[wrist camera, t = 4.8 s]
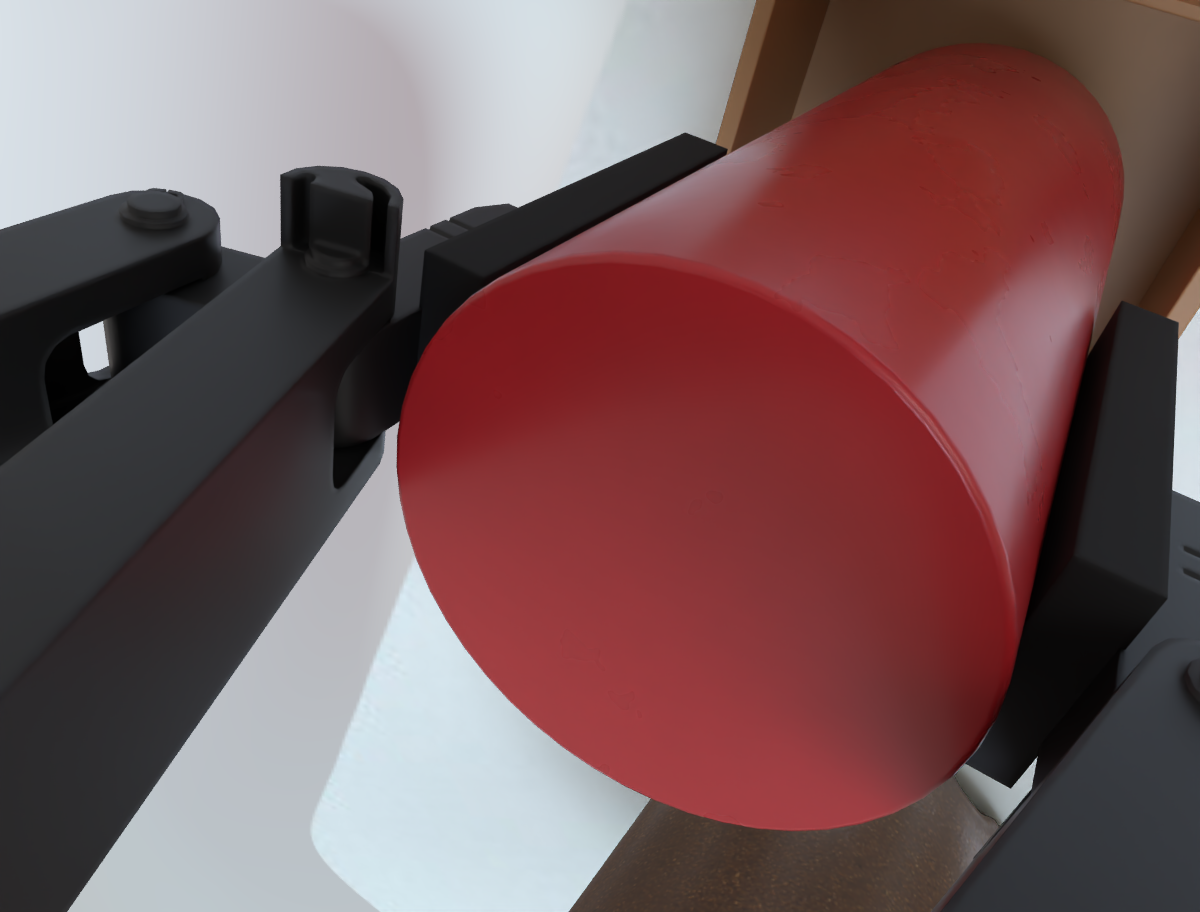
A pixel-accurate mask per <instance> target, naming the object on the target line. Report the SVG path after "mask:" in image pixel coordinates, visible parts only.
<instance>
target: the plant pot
mask: <svg viewBox="0 0 1200 912" xmlns="http://www.w3.org/2000/svg"><path fill="white" fill-rule="evenodd" d="M998 828H999V826H998V824H997V823H996V821H995V820H994V819H992V818H991V817H989V816H984V815H982V814H981V813H980V812H979V811H978V810H977V809H976V807H975V806H974V805H973V804H972V803H971V801H970V800H969V799H968V797H967V796H966V794H965V793H964V791H963V790H962V788H961V787H960V785H959V784H958V782H957V780H956V778H955V776H952V777H951V778H950V779H948V780H947V781H946V782H944V783H943V784H942V785H940V786H939V787H938V788H936V789H935V790H934V791H932V792H931V793H930V794H928V795H927V796H926V797H924V798H923V799H921V800H919V801H917V802H915V803H913V804H911V805H909V806H907V807H905V808H903V809H901V810H899V811H897V812H895V813H893V814H890V815H887V816H884V817H881V818H878V819H875V820H872V821H868V822H865V823H862V824H858V825H852V826H846V827H840V828H834V829H828V830H809V831H783V830H769V829H757V828H751V827H745V826H740V825H734V824H728V823H723V822H719V821H716V820H712V819H708V818H705V817H701V816H698V815H694V814H690V813H687V812H685V811H682V810H679V809H677V808H674V807H671V806H669V805H666V804H663V803H661V802H658V801H655V800H653V799H650V801H649V802H648V804H647V805H646V806H645V808H644V809H643V810H642V812H641V813H640V815H639V816H638V817H637V819H636V820H635V822H634V823H633V824H632V826H631V827H630V828H629V830H628V831H627V833H626V834H625V835H624V837H623V838H622V839H621V841H620V842H619V844H618V845H617V846H616V848H615V849H614V850H613V852H612V853H611V855H610V856H609V857H608V859H607V860H606V862H605V863H604V864H603V866H602V867H601V868H600V870H599V871H598V873H597V874H596V875H595V877H594V878H593V879H592V881H591V882H590V884H589V885H588V886H587V888H586V889H585V890H584V892H583V893H582V895H581V896H580V897H579V899H578V900H577V901H576V903H575V904H574V905H573V907H572V908H571V909H570V911H569V912H931V911H932V910H933V909H934V907H935V906H936V905H937V904H938V903H939V901H940V900H941V899H942V898H943V896H944V895H945V894H946V893H947V891H948V890H949V889H950V888H951V887H952V885H953V884H954V883H955V882H956V880H957V879H958V878H959V877H960V875H961V874H962V873H963V872H964V871H965V869H966V868H967V867H968V866H969V864H970V863H971V862H972V861H973V857H974V856H975V855H976V854H977V853H978V852H979V850H980V849H981V848H982V847H983V846H984V845H985V843H986V842H987V841H988V840H989V839H990V837H991V836H992V835H993V834H994V833H995V832H996V830H997V829H998Z"/></svg>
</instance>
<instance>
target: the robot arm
mask: <svg viewBox="0 0 1200 912" xmlns="http://www.w3.org/2000/svg"><path fill="white" fill-rule="evenodd" d="M727 151H728V149H727V148H724V147H722V146H719V145H716V144H714V143H711V142H709V141H706V140H703V139H701V138H698V137H696V136H693V135H690V134H688V133H683V134H681V135H679V136H677V137H674V138H672V139H670V140H668V141H665V142H663V143H661V144H659V145H657V146H654V147H652V148H650V149H648V150H645V151H643V152H641V153H639V154H637V155H634V156H632V157H630V158H628V159H625V160H623V161H621V162H619V163H617V164H614V165H612V166H610V167H608V168H606V169H603V170H601V171H599V172H597V173H594V174H592V175H590V176H588V177H586V178H583V179H581V180H579V181H577V182H574V183H572V184H570V185H568V186H566V187H563V188H561V189H559V190H557V191H554V192H552V193H550V194H548V195H546V196H543V197H541V198H539V199H537V200H534V201H532V202H530V203H528V204H526V205H523V206H521V207H519V208H517V207H515V206H512V205H510V204H501V205H492V206H483V207H475V208H473V209H470V210H468V211H465V212H463V213H461V214H458V215H456V216H453V217H451V218H450V220H449V221H447V220H444V221H442V222H439V223H437V224H434V225H432V226H431V227H430V229H426V228H425V229H423V230H421V231H418V232H416V233H413V234H411V235H408V236H406V237H404V238H402V239H400V235H401V223H402V209H403V197H402V195H401V193H400V191H399V189H398V188H396V187H395V186H394V185H392V184H391V183H389V182H388V181H386V180H385V179H383V178H380V177H377V176H375V175H372V174H369V173H367V172H363V171H358V170H353V169H348V168H344V167H329V166H328V167H327V166H314V167H305V168H296V169H294V170H291V171H289V172H286V173H284V174H281V175H280V181H281V182H280V187H281V246H280V247H279V248H278V249H276V250H275V251H274V252H273V253H272V254H270V255H269V256H268V257H266V258H263V257H259V256H255V255H251V254H248V253H244V252H240V251H236V250H233V249H229V248H225V247H221V235H220V218H219V216H218V214H217V212H216V210H215V209H214V208H213V207H212V206H210V205H208V204H207V203H205V202H203V201H202V200H200V199H197V198H194V197H190V196H187V195H184V194H183V193H181V192H177V191H172V190H169V191H168V192H166V189H157V188H152V189H148V190H147V191H129V192H124V193H119V194H114V195H109V196H106V197H103V198H100V199H97V200H93V201H91V202H88V203H84V204H81V205H78V206H74V207H71V208H68V209H65V210H62V211H58V212H55V213H52V214H49V215H46V216H42V217H39V218H36V219H33V220H29V221H26V222H23V223H20V224H17V225H13V226H10V227H7V228H4V229H1V230H0V912H67V911H68V910H69V908H70V907H71V905H72V904H73V902H74V901H75V900H76V898H77V897H78V895H79V894H80V892H81V891H82V890H83V888H84V887H85V885H86V883H87V882H88V881H89V880H90V878H91V877H92V875H93V874H94V872H95V871H96V869H97V868H98V867H99V865H100V864H101V862H102V861H103V859H104V858H105V856H106V855H107V854H108V852H109V851H110V849H111V848H112V846H113V845H114V844H115V842H116V841H117V839H118V838H119V836H120V835H121V834H122V832H123V831H124V829H125V828H126V827H127V825H128V824H129V822H130V821H131V819H132V818H133V816H134V815H135V814H136V812H137V811H138V809H139V808H140V806H141V805H142V804H143V802H144V801H145V799H146V798H147V796H148V795H149V794H150V792H151V791H152V789H153V787H154V786H155V785H156V783H157V782H158V781H159V779H160V778H161V776H162V775H163V774H164V772H165V771H166V769H167V768H168V766H169V765H170V763H171V762H172V760H173V759H174V758H175V756H176V755H177V753H178V752H179V751H180V749H181V748H182V746H183V745H184V743H185V742H186V740H187V739H188V738H189V736H190V735H191V733H192V732H193V730H194V729H195V728H196V726H197V725H198V723H199V722H200V720H201V719H202V718H203V716H204V715H205V713H206V712H207V710H208V709H209V708H210V706H211V705H212V703H213V702H214V700H215V699H216V697H217V696H218V695H219V693H220V692H221V690H222V689H223V688H224V686H225V685H226V683H227V682H228V680H229V679H230V677H231V676H232V675H233V673H234V671H235V670H236V669H237V667H238V666H239V665H240V663H241V662H242V660H243V658H244V657H245V656H246V655H247V653H248V652H249V650H250V649H251V647H252V646H253V644H254V643H255V642H256V640H257V639H258V637H259V636H260V634H261V633H262V632H263V630H264V629H265V627H266V626H267V624H268V623H269V622H270V620H271V619H272V617H273V616H274V614H275V613H276V611H277V610H278V609H279V607H280V606H281V604H282V603H283V601H284V600H285V599H286V597H287V596H288V594H289V593H290V591H291V590H292V589H293V587H294V586H295V584H296V583H297V581H298V580H299V579H300V577H301V576H302V574H303V573H304V571H305V570H306V569H307V567H308V566H309V564H310V563H311V561H312V560H313V559H314V557H315V556H316V554H317V553H318V551H319V550H320V548H321V547H322V546H323V544H324V543H325V541H326V540H327V538H328V537H329V536H330V534H331V533H332V531H333V530H334V528H335V527H336V526H337V524H338V523H339V521H340V520H341V518H342V517H343V516H344V514H345V513H346V511H347V510H348V508H349V507H350V505H351V504H352V503H353V501H354V500H355V498H356V496H357V495H358V494H359V493H360V491H361V490H362V488H363V487H364V485H365V484H366V483H367V481H368V480H369V478H370V477H371V475H372V474H373V472H374V471H375V470H376V468H377V467H378V465H379V464H380V461H381V458H382V455H383V452H384V441H385V430H387V429H388V428H390V427H392V426H393V425H395V424H396V423H398V422H399V421H400V416H401V410H402V404H403V401H404V398H405V395H406V392H407V389H408V385H409V382H410V379H411V376H412V374H413V372H414V370H415V368H416V366H417V364H418V362H419V360H420V358H421V356H422V354H423V352H424V350H425V348H426V346H427V344H428V343H429V342H430V340H431V339H432V338H433V336H434V335H435V334H436V332H437V331H438V330H439V328H440V327H441V325H442V324H443V323H444V321H445V320H446V319H447V318H448V317H449V316H450V315H451V314H452V313H453V312H454V311H455V310H456V309H457V308H458V307H460V306H461V305H462V304H463V303H464V302H465V301H466V300H467V299H468V298H469V297H470V296H471V295H473V294H475V293H476V292H478V291H479V290H481V289H482V288H484V287H485V286H487V285H488V284H490V283H491V282H493V281H494V280H496V279H498V278H499V277H501V276H503V275H505V274H506V273H508V272H510V271H512V270H514V269H516V268H518V267H519V266H521V265H523V264H525V263H527V262H529V261H531V260H532V259H534V258H536V257H538V256H540V255H542V254H544V253H545V252H547V251H549V250H551V249H553V248H555V247H557V246H558V245H560V244H562V243H564V242H566V241H568V240H570V239H571V238H573V237H575V236H577V235H579V234H581V233H583V232H584V231H586V230H588V229H590V228H592V227H594V226H596V225H597V224H599V223H601V222H603V221H605V220H607V219H609V218H611V217H612V216H614V215H616V214H618V213H620V212H622V211H624V210H625V209H627V208H629V207H631V206H633V205H635V204H637V203H638V202H640V201H642V200H644V199H646V198H648V197H650V196H651V195H653V194H655V193H657V192H659V191H661V190H663V189H664V188H666V187H668V186H670V185H672V184H674V183H676V182H677V181H679V180H681V179H683V178H685V177H687V176H689V175H690V174H692V173H694V172H696V171H698V170H700V169H702V168H703V167H705V166H707V165H709V164H711V163H713V162H715V161H716V160H718V159H720V158H722V157H724V156H726V155H727ZM101 321H103V324H104V331H105V338H106V345H107V352H108V360H109V366H107V367H105V368H103V369H101V370H99V371H95V372H90V373H87V371H86V369H85V367H84V364H83V358H82V351H81V345H80V339H79V332H78V331H81V330H83V329H85V328H88V327H90V326H92V325H94V324H97V323H99V322H101ZM1178 331H1179V322H1177V321H1174V320H1171V319H1169V318H1166V317H1164V316H1161V315H1158V314H1156V313H1153V312H1151V311H1148V310H1145V309H1143V308H1140V307H1138V306H1135V305H1132V304H1130V303H1127V302H1125V301H1121V302H1120V304H1119V306H1118V307H1117V309H1116V310H1115V312H1114V314H1113V315H1112V317H1111V319H1110V320H1109V322H1108V324H1107V325H1106V327H1105V328H1104V330H1103V332H1102V333H1101V335H1100V337H1099V338H1098V340H1097V342H1096V343H1095V345H1094V346H1093V348H1092V350H1091V351H1090V353H1089V355H1088V357H1087V361H1086V365H1085V369H1084V374H1083V378H1082V382H1081V386H1080V390H1079V395H1078V399H1077V403H1076V407H1075V412H1074V416H1073V420H1072V424H1071V428H1070V433H1069V437H1068V441H1067V445H1066V450H1065V454H1064V458H1063V462H1062V466H1061V471H1060V475H1059V479H1058V483H1057V487H1056V492H1055V496H1054V500H1053V504H1052V509H1051V513H1050V517H1049V521H1048V525H1047V530H1046V534H1045V538H1044V542H1043V547H1042V551H1041V555H1040V559H1039V563H1038V568H1037V572H1036V576H1035V580H1034V585H1033V589H1032V593H1031V597H1030V601H1029V606H1028V610H1027V614H1026V618H1025V622H1024V627H1023V631H1022V635H1021V639H1020V644H1019V648H1018V652H1017V656H1016V660H1015V665H1014V669H1013V673H1012V677H1011V682H1010V685H1009V687H1008V690H1007V693H1006V695H1005V698H1004V701H1003V704H1002V706H1001V709H1000V712H999V714H998V717H997V719H996V721H995V722H994V724H993V726H992V727H991V729H990V731H989V732H988V734H987V735H986V737H985V739H984V740H983V742H982V744H981V745H980V747H979V749H978V750H977V751H976V752H975V753H974V754H973V755H972V756H971V757H970V758H969V760H968V761H967V762H966V763H965V764H967V765H969V766H971V767H973V768H974V769H976V770H978V771H980V772H982V773H983V774H985V775H987V776H989V777H991V778H992V779H994V780H996V781H998V782H1000V783H1002V784H1003V785H1005V786H1007V787H1009V788H1012V787H1013V785H1014V784H1015V783H1016V782H1017V781H1018V779H1019V778H1020V777H1021V776H1022V775H1023V773H1024V772H1025V771H1026V770H1027V768H1028V767H1029V766H1030V765H1031V764H1032V762H1033V761H1034V760H1035V759H1036V758H1037V756H1038V758H1037V763H1036V768H1035V774H1034V779H1033V785H1032V789H1031V790H1030V792H1029V793H1028V794H1027V795H1026V796H1025V797H1024V799H1023V800H1022V801H1021V802H1020V803H1019V805H1018V806H1017V807H1016V808H1015V809H1014V810H1013V812H1012V813H1011V814H1010V815H1009V816H1008V817H1007V819H1006V820H1005V821H1004V822H1003V823H1002V825H1001V826H1000V827H999V828H998V829H997V830H996V832H995V833H994V834H993V835H992V836H991V837H990V839H989V840H988V841H987V842H986V843H985V845H984V846H983V847H982V848H981V849H980V850H979V852H978V853H977V854H976V855H975V856H974V857H973V861H972V862H971V863H970V864H969V866H968V867H967V868H966V869H965V871H964V872H963V873H962V874H961V875H960V877H959V878H958V879H957V880H956V882H955V883H954V884H953V885H952V887H951V888H950V889H949V890H948V891H947V893H946V894H945V895H944V896H943V898H942V899H941V900H940V901H939V903H938V904H937V905H936V906H935V907H934V909H933V910H932V911H931V912H1200V502H1198V501H1196V500H1193V499H1191V498H1189V497H1186V496H1184V495H1182V494H1180V493H1177V492H1175V491H1173V490H1172V479H1173V454H1174V430H1175V405H1176V380H1177V356H1178Z"/></svg>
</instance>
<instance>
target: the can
mask: <svg viewBox="0 0 1200 912" xmlns="http://www.w3.org/2000/svg"><path fill="white" fill-rule="evenodd" d="M1123 200H1124V169H1123V161H1122V155H1121V151H1120V148H1119V144H1118V140H1117V137H1116V134H1115V132H1114V130H1113V128H1112V125H1111V123H1110V121H1109V119H1108V117H1107V115H1106V114H1105V112H1104V111H1103V109H1102V107H1101V106H1100V104H1099V103H1098V101H1097V100H1096V98H1095V97H1094V96H1093V95H1092V94H1091V93H1090V92H1089V91H1088V90H1087V89H1086V87H1085V86H1084V85H1083V84H1082V83H1081V82H1080V81H1078V80H1077V79H1076V78H1075V77H1073V76H1072V75H1071V74H1070V73H1068V72H1067V71H1066V70H1065V69H1063V68H1061V67H1060V66H1058V65H1056V64H1055V63H1053V62H1051V61H1049V60H1048V59H1046V58H1044V57H1041V56H1039V55H1036V54H1034V53H1031V52H1029V51H1026V50H1023V49H1018V48H1014V47H1010V46H1006V45H999V44H988V43H966V44H956V45H950V46H944V47H938V48H935V49H932V50H929V51H925V52H922V53H919V54H916V55H914V56H912V57H910V58H908V59H905V60H903V61H901V62H899V63H897V64H895V65H893V66H891V67H889V68H887V69H886V70H884V71H882V72H880V73H878V74H876V75H874V76H873V77H871V78H869V79H867V80H865V81H863V82H861V83H860V84H858V85H856V86H854V87H852V88H850V89H848V90H847V91H845V92H843V93H841V94H839V95H837V96H835V97H834V98H832V99H830V100H828V101H826V102H824V103H822V104H821V105H819V106H817V107H815V108H813V109H811V110H809V111H808V112H806V113H804V114H802V115H800V116H798V117H796V118H795V119H793V120H791V121H789V122H787V123H785V124H783V125H782V126H780V127H778V128H776V129H774V130H772V131H770V132H769V133H767V134H765V135H763V136H761V137H759V138H757V139H756V140H754V141H752V142H750V143H748V144H746V145H744V146H742V147H741V148H739V149H737V150H735V151H733V152H731V153H729V154H728V155H726V156H724V157H722V158H720V159H718V160H716V161H715V162H713V163H711V164H709V165H707V166H705V167H703V168H702V169H700V170H698V171H696V172H694V173H692V174H690V175H689V176H687V177H685V178H683V179H681V180H679V181H677V182H676V183H674V184H672V185H670V186H668V187H666V188H664V189H663V190H661V191H659V192H657V193H655V194H653V195H651V196H650V197H648V198H646V199H644V200H642V201H640V202H638V203H637V204H635V205H633V206H631V207H629V208H627V209H625V210H624V211H622V212H620V213H618V214H616V215H614V216H612V217H611V218H609V219H607V220H605V221H603V222H601V223H599V224H597V225H596V226H594V227H592V228H590V229H588V230H586V231H584V232H583V233H581V234H579V235H577V236H575V237H573V238H571V239H570V240H568V241H566V242H564V243H562V244H560V245H558V246H557V247H555V248H553V249H551V250H549V251H547V252H545V253H544V254H542V255H540V256H538V257H536V258H534V259H532V260H531V261H529V262H527V263H525V264H523V265H521V266H519V267H518V268H516V269H514V270H512V271H510V272H508V273H506V274H505V275H503V276H501V277H499V278H498V279H496V280H494V281H493V282H491V283H490V284H488V285H487V286H485V287H484V288H482V289H481V290H479V291H478V292H476V293H475V294H473V295H471V296H470V297H469V298H468V299H467V300H466V301H465V302H464V303H463V304H462V305H461V306H460V307H458V308H457V309H456V310H455V311H454V312H453V313H452V314H451V315H450V316H449V317H448V318H447V319H446V320H445V321H444V323H443V324H442V325H441V327H440V328H439V330H438V331H437V332H436V334H435V335H434V336H433V338H432V339H431V340H430V342H429V343H428V344H427V346H426V348H425V350H424V352H423V354H422V356H421V358H420V360H419V362H418V364H417V366H416V368H415V370H414V372H413V374H412V376H411V379H410V382H409V385H408V389H407V392H406V395H405V398H404V401H403V404H402V410H401V416H400V422H399V429H398V435H397V475H398V485H399V494H400V501H401V506H402V510H403V515H404V520H405V524H406V529H407V532H408V535H409V538H410V541H411V544H412V547H413V550H414V553H415V556H416V560H417V562H418V564H419V567H420V569H421V571H422V573H423V576H424V578H425V580H426V583H427V585H428V587H429V589H430V592H431V593H432V595H433V597H434V599H435V601H436V602H437V604H438V606H439V608H440V610H441V612H442V613H443V615H444V617H445V619H446V621H447V622H448V624H449V625H450V627H451V628H452V630H453V631H454V633H455V634H456V636H457V637H458V639H459V640H460V642H461V643H462V645H463V646H464V648H465V649H466V650H467V652H468V653H469V654H470V656H471V657H472V658H473V659H474V661H475V662H476V663H477V664H478V666H479V667H480V668H481V670H482V671H483V672H484V673H485V675H486V676H487V677H488V678H489V679H490V680H491V681H492V682H493V683H494V685H495V686H496V687H497V688H498V689H499V690H500V691H501V692H502V693H503V694H504V695H505V697H506V698H507V699H508V700H509V701H510V702H511V703H512V704H513V705H514V706H515V707H517V708H518V709H519V710H520V711H521V712H522V713H523V714H524V715H525V716H526V717H527V718H528V719H529V720H530V721H531V722H533V723H534V724H535V725H536V726H537V727H538V728H540V729H541V730H542V731H543V732H545V733H546V734H547V735H548V736H550V737H551V738H552V739H553V740H555V741H556V742H557V743H558V744H560V745H561V746H562V747H563V748H565V749H566V750H568V751H569V752H571V753H572V754H574V755H575V756H576V757H578V758H579V759H581V760H582V761H584V762H585V763H587V764H588V765H590V766H591V767H593V768H594V769H596V770H598V771H599V772H601V773H603V774H605V775H606V776H608V777H610V778H612V779H613V780H615V781H617V782H619V783H620V784H622V785H624V786H626V787H628V788H630V789H632V790H634V791H636V792H639V793H641V794H643V795H645V796H647V797H649V798H651V799H653V800H655V801H658V802H661V803H663V804H666V805H669V806H671V807H674V808H677V809H679V810H682V811H685V812H687V813H690V814H694V815H698V816H701V817H705V818H708V819H712V820H716V821H719V822H723V823H728V824H734V825H740V826H745V827H751V828H757V829H769V830H783V831H809V830H828V829H834V828H840V827H846V826H852V825H858V824H862V823H865V822H868V821H872V820H875V819H878V818H881V817H884V816H887V815H890V814H893V813H895V812H897V811H899V810H901V809H903V808H905V807H907V806H909V805H911V804H913V803H915V802H917V801H919V800H921V799H923V798H924V797H926V796H927V795H928V794H930V793H931V792H932V791H934V790H935V789H936V788H938V787H939V786H940V785H942V784H943V783H944V782H946V781H947V780H948V779H950V778H951V777H952V776H954V775H955V774H956V773H957V772H958V770H959V769H960V768H961V767H962V766H963V765H964V764H965V763H966V762H967V761H968V760H969V758H970V757H971V756H972V755H973V754H974V753H975V752H976V751H977V750H978V749H979V747H980V745H981V744H982V742H983V740H984V739H985V737H986V735H987V734H988V732H989V731H990V729H991V727H992V726H993V724H994V722H995V721H996V719H997V717H998V714H999V712H1000V709H1001V706H1002V704H1003V701H1004V698H1005V695H1006V693H1007V690H1008V687H1009V685H1010V682H1011V677H1012V673H1013V669H1014V665H1015V660H1016V656H1017V652H1018V648H1019V644H1020V639H1021V635H1022V631H1023V627H1024V622H1025V618H1026V614H1027V610H1028V606H1029V601H1030V597H1031V593H1032V589H1033V585H1034V580H1035V576H1036V572H1037V568H1038V563H1039V559H1040V555H1041V551H1042V547H1043V542H1044V538H1045V534H1046V530H1047V525H1048V521H1049V517H1050V513H1051V509H1052V504H1053V500H1054V496H1055V492H1056V487H1057V483H1058V479H1059V475H1060V471H1061V466H1062V462H1063V458H1064V454H1065V450H1066V445H1067V441H1068V437H1069V433H1070V428H1071V424H1072V420H1073V416H1074V412H1075V407H1076V403H1077V399H1078V395H1079V390H1080V386H1081V382H1082V378H1083V374H1084V369H1085V365H1086V361H1087V357H1088V352H1089V348H1090V344H1091V340H1092V336H1093V331H1094V327H1095V323H1096V319H1097V314H1098V310H1099V306H1100V302H1101V298H1102V293H1103V289H1104V285H1105V281H1106V277H1107V272H1108V268H1109V264H1110V260H1111V255H1112V251H1113V247H1114V243H1115V239H1116V234H1117V230H1118V226H1119V222H1120V217H1121V211H1122V206H1123Z"/></svg>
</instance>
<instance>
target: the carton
mask: <svg viewBox="0 0 1200 912" xmlns="http://www.w3.org/2000/svg"><path fill="white" fill-rule="evenodd" d="M966 43H988V44H999V45H1006V46H1010V47H1014V48H1018V49H1023V50H1026V51H1029V52H1031V53H1034V54H1036V55H1039V56H1041V57H1044V58H1046V59H1048V60H1049V61H1051V62H1053V63H1055V64H1056V65H1058V66H1060V67H1061V68H1063V69H1065V70H1066V71H1067V72H1068V73H1070V74H1071V75H1072V76H1073V77H1075V78H1076V79H1077V80H1078V81H1080V82H1081V83H1082V84H1083V85H1084V86H1085V87H1086V89H1087V90H1088V91H1089V92H1090V93H1091V94H1092V95H1093V96H1094V97H1095V98H1096V100H1097V101H1098V103H1099V104H1100V106H1101V107H1102V109H1103V111H1104V112H1105V114H1106V115H1107V117H1108V119H1109V121H1110V123H1111V125H1112V128H1113V130H1114V132H1115V134H1116V137H1117V140H1118V144H1119V148H1120V151H1121V155H1122V161H1123V169H1124V200H1123V206H1122V211H1121V217H1120V222H1119V226H1118V230H1117V234H1116V239H1115V243H1114V247H1113V251H1112V255H1111V260H1110V264H1109V268H1108V272H1107V277H1106V281H1105V285H1104V289H1103V293H1102V298H1101V302H1100V306H1099V310H1098V314H1097V319H1096V323H1095V327H1094V331H1093V336H1092V340H1091V344H1090V348H1089V352H1088V355H1089V353H1090V351H1091V350H1092V348H1093V346H1094V345H1095V343H1096V342H1097V340H1098V338H1099V337H1100V335H1101V333H1102V332H1103V330H1104V328H1105V327H1106V325H1107V324H1108V322H1109V320H1110V319H1111V317H1112V315H1113V314H1114V312H1115V310H1116V309H1117V307H1118V306H1119V304H1120V302H1121V301H1125V302H1127V303H1130V304H1132V305H1135V306H1138V307H1140V308H1143V309H1145V310H1148V311H1151V312H1153V313H1156V314H1158V315H1161V316H1164V317H1166V318H1169V319H1171V320H1174V321H1177V322H1179V331H1178V339H1179V337H1180V336H1181V334H1182V333H1183V331H1184V330H1185V328H1186V327H1187V325H1188V324H1189V322H1190V321H1191V319H1192V318H1193V317H1194V315H1195V314H1196V312H1197V311H1198V309H1199V308H1200V7H1198V6H1195V5H1191V4H1188V3H1184V2H1181V1H1178V0H756V4H755V7H754V11H753V14H752V18H751V21H750V25H749V28H748V32H747V35H746V39H745V42H744V46H743V49H742V53H741V56H740V60H739V64H738V67H737V71H736V74H735V78H734V81H733V85H732V88H731V92H730V95H729V99H728V102H727V106H726V109H725V113H724V116H723V120H722V124H721V127H720V131H719V134H718V138H717V141H716V145H719V146H722V147H724V148H727V149H728V151H727V155H728V154H729V153H731V152H733V151H735V150H737V149H739V148H741V147H742V146H744V145H746V144H748V143H750V142H752V141H754V140H756V139H757V138H759V137H761V136H763V135H765V134H767V133H769V132H770V131H772V130H774V129H776V128H778V127H780V126H782V125H783V124H785V123H787V122H789V121H791V120H793V119H795V118H796V117H798V116H800V115H802V114H804V113H806V112H808V111H809V110H811V109H813V108H815V107H817V106H819V105H821V104H822V103H824V102H826V101H828V100H830V99H832V98H834V97H835V96H837V95H839V94H841V93H843V92H845V91H847V90H848V89H850V88H852V87H854V86H856V85H858V84H860V83H861V82H863V81H865V80H867V79H869V78H871V77H873V76H874V75H876V74H878V73H880V72H882V71H884V70H886V69H887V68H889V67H891V66H893V65H895V64H897V63H899V62H901V61H903V60H905V59H908V58H910V57H912V56H914V55H916V54H919V53H922V52H925V51H929V50H932V49H935V48H938V47H944V46H950V45H956V44H966Z"/></svg>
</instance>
